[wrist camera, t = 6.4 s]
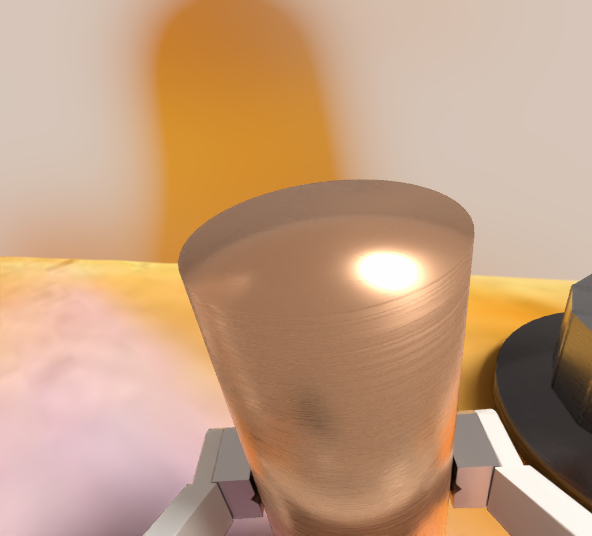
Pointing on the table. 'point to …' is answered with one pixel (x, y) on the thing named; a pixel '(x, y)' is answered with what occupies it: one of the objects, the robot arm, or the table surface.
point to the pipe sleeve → (552, 394)
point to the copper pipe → (339, 349)
